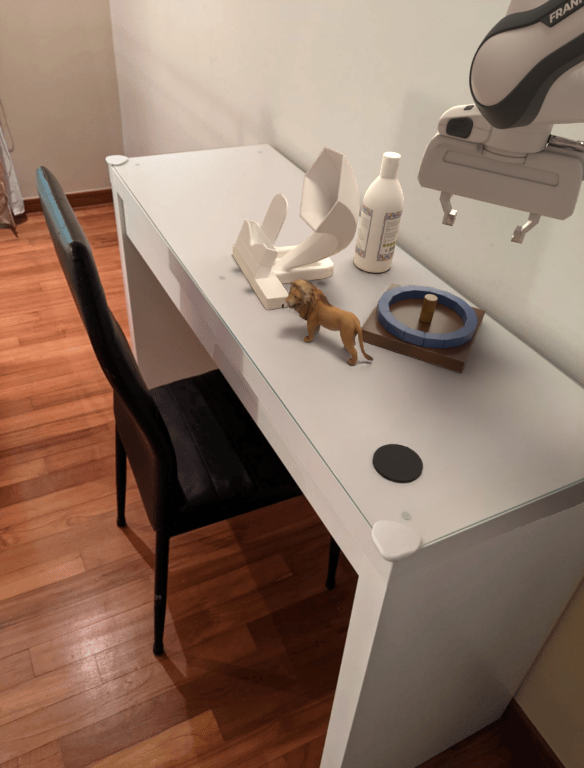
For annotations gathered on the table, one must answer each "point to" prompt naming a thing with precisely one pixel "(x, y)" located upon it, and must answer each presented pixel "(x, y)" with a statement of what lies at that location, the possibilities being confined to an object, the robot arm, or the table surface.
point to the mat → (397, 463)
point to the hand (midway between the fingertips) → (481, 232)
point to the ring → (424, 337)
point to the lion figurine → (325, 316)
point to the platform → (423, 330)
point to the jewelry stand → (311, 258)
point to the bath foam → (380, 218)
